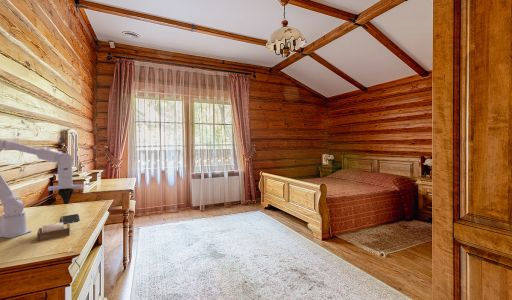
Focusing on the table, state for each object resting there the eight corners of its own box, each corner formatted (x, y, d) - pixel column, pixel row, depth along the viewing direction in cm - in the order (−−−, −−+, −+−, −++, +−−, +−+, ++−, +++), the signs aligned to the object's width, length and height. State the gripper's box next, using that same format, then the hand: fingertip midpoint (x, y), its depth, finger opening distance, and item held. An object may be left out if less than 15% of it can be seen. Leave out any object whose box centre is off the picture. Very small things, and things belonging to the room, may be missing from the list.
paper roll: (42, 223, 107) (43, 233, 108) (41, 229, 103) (42, 239, 105) (63, 220, 111) (63, 229, 113) (63, 225, 108) (63, 235, 109)
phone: (60, 223, 122) (60, 216, 134) (60, 225, 122) (60, 218, 134) (79, 219, 127) (78, 213, 139) (80, 221, 127) (78, 215, 139)
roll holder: (39, 235, 107) (39, 228, 107) (69, 230, 114) (69, 222, 113) (37, 241, 101) (37, 232, 101) (69, 234, 108) (68, 227, 108)
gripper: (43, 178, 117) (45, 206, 117) (78, 177, 120) (79, 204, 120) (52, 177, 123) (53, 203, 124) (84, 175, 127) (85, 201, 127)
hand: (66, 203), depth 123 cm, fingers closed
